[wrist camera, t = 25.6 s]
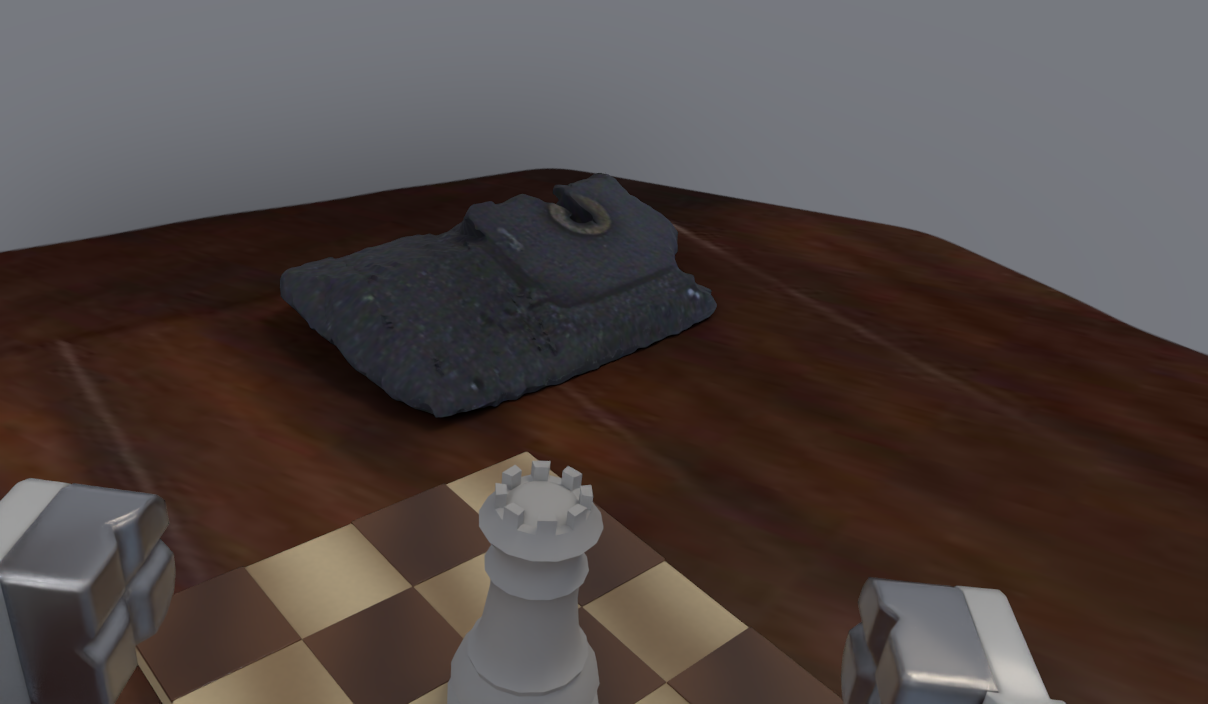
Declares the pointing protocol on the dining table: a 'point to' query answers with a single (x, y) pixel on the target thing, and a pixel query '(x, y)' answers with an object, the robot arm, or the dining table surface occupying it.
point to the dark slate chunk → (504, 297)
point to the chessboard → (447, 619)
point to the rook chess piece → (532, 595)
